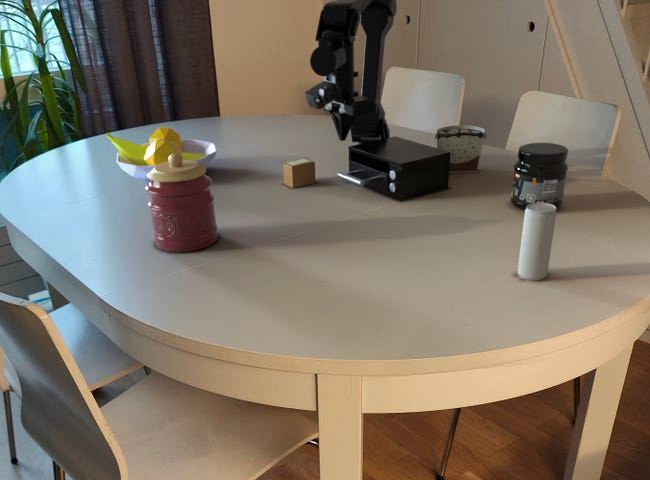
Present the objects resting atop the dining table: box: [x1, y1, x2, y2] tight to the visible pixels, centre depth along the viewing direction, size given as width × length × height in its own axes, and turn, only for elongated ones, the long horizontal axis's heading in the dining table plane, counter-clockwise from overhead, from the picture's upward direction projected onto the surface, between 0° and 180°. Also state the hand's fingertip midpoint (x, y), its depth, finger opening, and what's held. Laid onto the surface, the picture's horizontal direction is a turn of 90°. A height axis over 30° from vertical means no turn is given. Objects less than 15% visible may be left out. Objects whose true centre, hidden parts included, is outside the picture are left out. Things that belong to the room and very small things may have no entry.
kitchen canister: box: [145, 153, 219, 253], centre depth 135 cm, size 13×13×18 cm
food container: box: [433, 124, 487, 174], centre depth 168 cm, size 12×6×10 cm, turn 84°
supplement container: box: [510, 142, 569, 212], centre depth 142 cm, size 10×10×12 cm
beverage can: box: [517, 203, 557, 281], centre depth 113 cm, size 5×5×12 cm
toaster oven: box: [348, 136, 450, 202], centre depth 160 cm, size 20×15×8 cm
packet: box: [282, 157, 317, 189], centre depth 167 cm, size 4×6×5 cm
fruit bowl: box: [105, 125, 218, 181], centre depth 179 cm, size 28×27×11 cm
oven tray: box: [337, 161, 390, 192], centre depth 161 cm, size 14×18×4 cm
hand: (342, 140), depth 157 cm, fingers closed
